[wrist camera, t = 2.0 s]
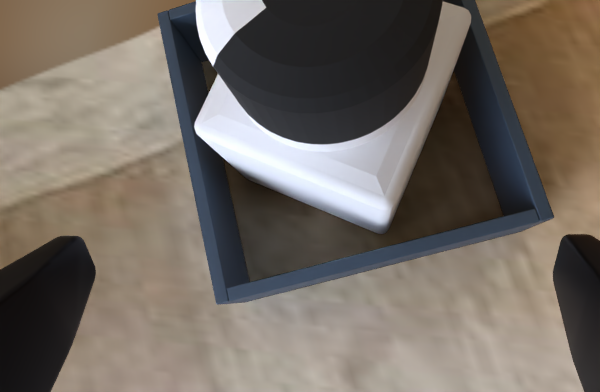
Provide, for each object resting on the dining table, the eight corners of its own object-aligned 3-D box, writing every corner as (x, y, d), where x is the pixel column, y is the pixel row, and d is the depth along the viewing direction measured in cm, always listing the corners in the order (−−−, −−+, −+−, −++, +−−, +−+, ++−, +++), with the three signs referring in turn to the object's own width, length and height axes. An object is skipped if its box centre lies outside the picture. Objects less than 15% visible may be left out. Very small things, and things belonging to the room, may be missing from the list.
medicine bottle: (445, 94, 23) (522, -117, 11) (385, 237, 22) (400, 174, 10) (303, 45, 24) (239, -186, 12) (242, 178, 23) (111, 63, 12)
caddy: (521, 231, 21) (555, 217, 17) (243, 302, 22) (216, 304, 18) (434, -19, 24) (446, -79, 20) (190, 56, 25) (156, 12, 21)
